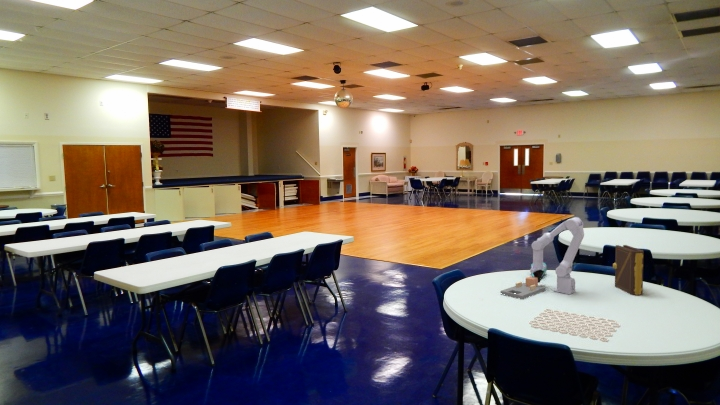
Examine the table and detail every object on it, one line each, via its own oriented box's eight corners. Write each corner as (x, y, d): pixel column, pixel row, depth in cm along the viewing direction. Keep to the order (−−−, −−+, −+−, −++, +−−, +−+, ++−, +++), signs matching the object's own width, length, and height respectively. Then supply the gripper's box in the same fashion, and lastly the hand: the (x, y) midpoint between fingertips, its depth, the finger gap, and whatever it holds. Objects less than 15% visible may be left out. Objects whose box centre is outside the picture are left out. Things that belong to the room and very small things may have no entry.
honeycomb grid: (546, 310, 241) (546, 308, 241) (622, 323, 219) (622, 321, 219) (525, 326, 219) (525, 324, 218) (608, 343, 196) (608, 341, 196)
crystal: (531, 290, 293) (524, 276, 293) (536, 270, 323) (531, 257, 323) (546, 286, 288) (539, 271, 288) (551, 266, 318) (545, 253, 318)
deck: (545, 290, 275) (545, 283, 274) (522, 299, 259) (522, 291, 259) (524, 286, 286) (524, 278, 285) (500, 294, 270) (500, 286, 270)
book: (646, 295, 260) (647, 251, 258) (630, 295, 260) (631, 251, 258) (624, 284, 282) (625, 244, 280) (610, 285, 282) (611, 244, 280)
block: (537, 286, 278) (537, 277, 277) (533, 287, 274) (533, 279, 274) (530, 284, 281) (530, 276, 281) (525, 286, 278) (525, 277, 278)
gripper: (538, 257, 289) (538, 278, 290) (525, 261, 280) (525, 283, 281) (549, 259, 283) (548, 280, 284) (536, 262, 274) (536, 285, 275)
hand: (537, 282), depth 282 cm, fingers closed
